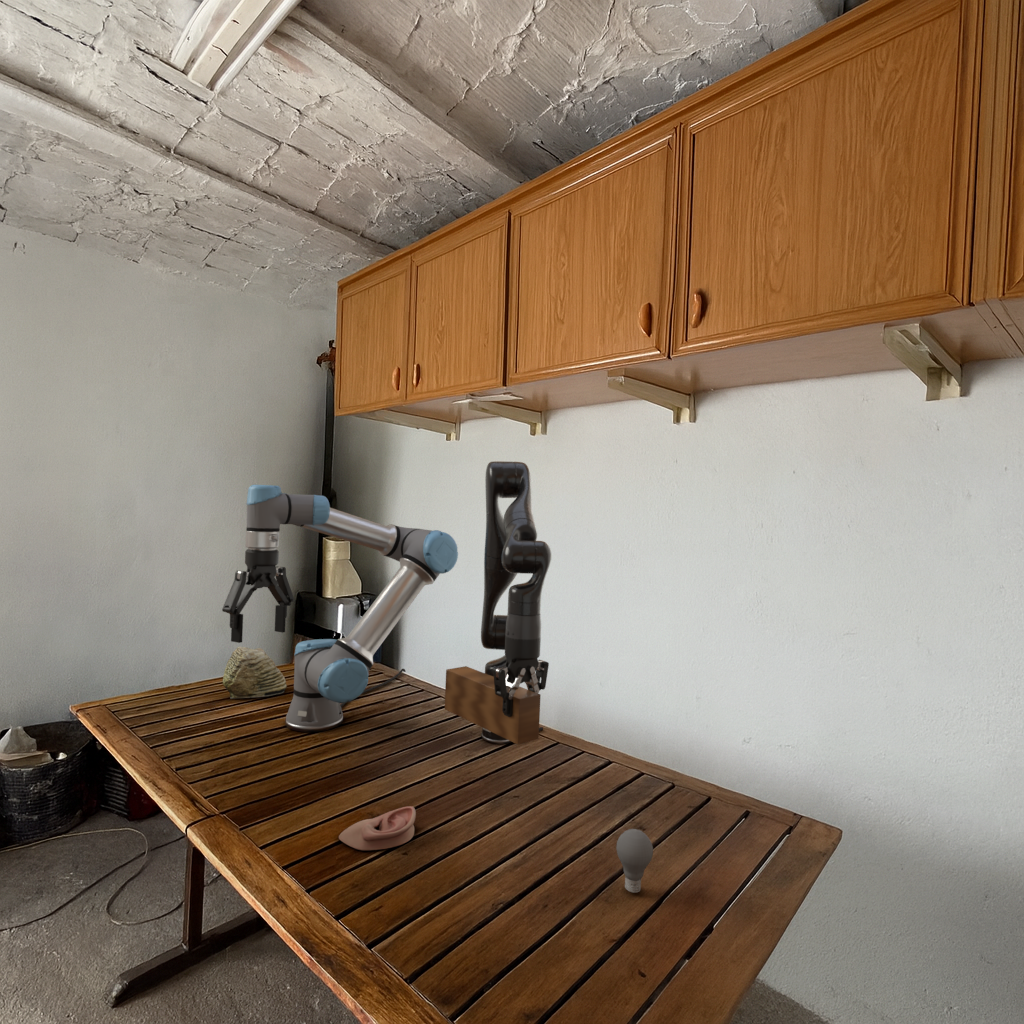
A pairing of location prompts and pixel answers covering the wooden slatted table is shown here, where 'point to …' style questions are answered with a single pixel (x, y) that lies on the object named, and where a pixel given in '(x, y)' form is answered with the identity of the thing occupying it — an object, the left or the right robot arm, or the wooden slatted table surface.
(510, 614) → the right robot arm
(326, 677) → the left robot arm
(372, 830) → the anatomical model
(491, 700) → the bar
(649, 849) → the light bulb
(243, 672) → the fossil
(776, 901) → the wooden slatted table surface
